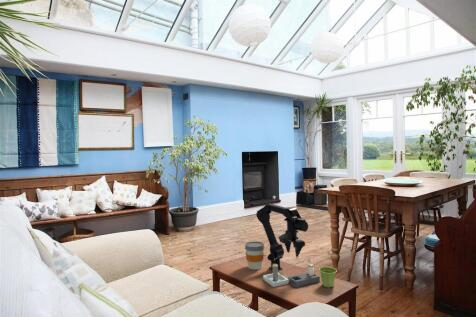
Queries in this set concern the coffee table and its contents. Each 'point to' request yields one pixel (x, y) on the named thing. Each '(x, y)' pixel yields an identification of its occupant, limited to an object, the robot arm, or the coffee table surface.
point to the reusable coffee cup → (254, 254)
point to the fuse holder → (303, 279)
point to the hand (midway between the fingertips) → (292, 254)
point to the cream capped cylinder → (275, 272)
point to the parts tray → (281, 281)
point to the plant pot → (328, 276)
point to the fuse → (310, 270)
